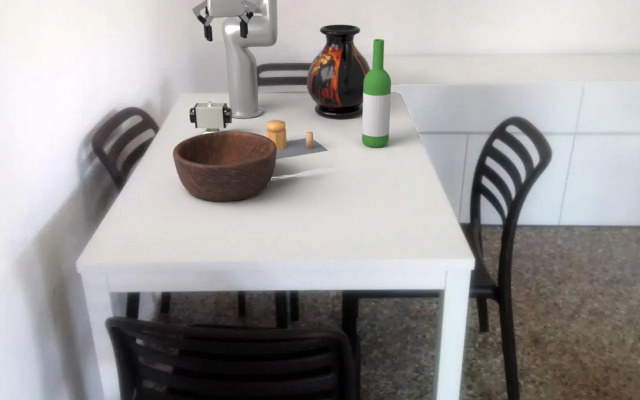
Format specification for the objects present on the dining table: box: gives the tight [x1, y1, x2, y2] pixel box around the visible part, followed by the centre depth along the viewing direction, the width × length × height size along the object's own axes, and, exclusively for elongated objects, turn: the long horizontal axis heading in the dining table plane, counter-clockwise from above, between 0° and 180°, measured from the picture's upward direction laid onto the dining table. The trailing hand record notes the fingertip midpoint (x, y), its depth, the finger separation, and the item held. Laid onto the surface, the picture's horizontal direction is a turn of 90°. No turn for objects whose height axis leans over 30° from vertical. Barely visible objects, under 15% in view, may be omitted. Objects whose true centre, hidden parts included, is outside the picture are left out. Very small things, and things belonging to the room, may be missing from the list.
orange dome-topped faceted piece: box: [265, 119, 287, 150], centre depth 180 cm, size 5×5×7 cm
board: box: [276, 131, 329, 160], centre depth 179 cm, size 12×18×6 cm, turn 115°
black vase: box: [306, 24, 371, 120], centre depth 209 cm, size 22×22×28 cm
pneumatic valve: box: [189, 100, 233, 134], centre depth 187 cm, size 6×12×12 cm, turn 89°
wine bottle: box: [361, 38, 392, 148], centre depth 180 cm, size 8×8×30 cm
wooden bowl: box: [172, 130, 277, 202], centre depth 157 cm, size 25×25×10 cm
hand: (226, 39), depth 170 cm, fingers open, 9 cm apart
